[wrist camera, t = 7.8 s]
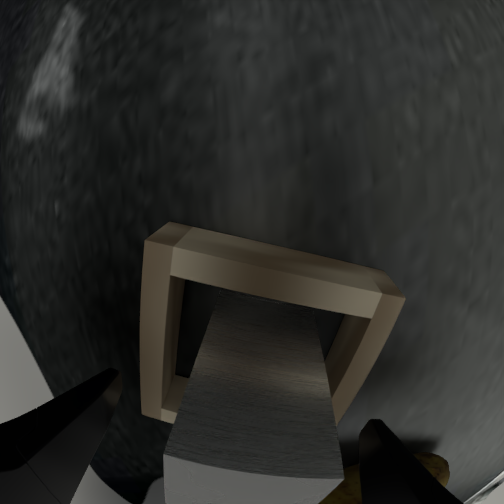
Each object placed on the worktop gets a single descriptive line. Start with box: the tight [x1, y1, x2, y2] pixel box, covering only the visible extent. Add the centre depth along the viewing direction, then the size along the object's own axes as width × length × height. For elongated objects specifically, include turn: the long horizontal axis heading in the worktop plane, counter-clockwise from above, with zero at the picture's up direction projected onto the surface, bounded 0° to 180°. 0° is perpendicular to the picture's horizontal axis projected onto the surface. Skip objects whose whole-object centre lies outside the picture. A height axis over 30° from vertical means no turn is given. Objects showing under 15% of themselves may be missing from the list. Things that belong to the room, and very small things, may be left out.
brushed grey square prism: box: [164, 290, 345, 504], centre depth 9 cm, size 4×4×8 cm
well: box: [140, 222, 406, 426], centre depth 12 cm, size 9×9×2 cm
